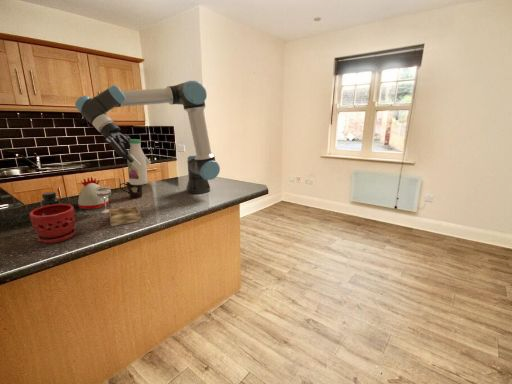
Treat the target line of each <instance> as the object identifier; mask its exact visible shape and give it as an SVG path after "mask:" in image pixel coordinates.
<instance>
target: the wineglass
mask: <svg viewBox="0 0 512 384" xmlns="http://www.w3.org/2000/svg"><path fill="white" fill-rule="evenodd" d="M95 190H96V191H95V194H96V196H98V197H99V198H102V199H104V204H105V206H104V209H103V210H101V211H100V213H101V214H106V213H107V214H109V210H110V209H108V208H107V205H106V200H105V199H106V198H107V197H108V198H109V197H110V196H111V195H112V190H111V186H109V185H108V186H107V185H105V186H100V187H97V188H95Z"/></svg>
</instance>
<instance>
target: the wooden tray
mask: <svg viewBox="0 0 512 384" xmlns="http://www.w3.org/2000/svg"><path fill="white" fill-rule="evenodd" d="M108 214H109V222H110V226H111V227H115V226H119V225H121V226H122V225H126V224H130V223H137V222H142V217H141V215H142V214H141V211H140V210H139V208H138V205H135V206H130V207H129V206H128V207H122V208H115V209H109V212H108Z"/></svg>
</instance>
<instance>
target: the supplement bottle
mask: <svg viewBox="0 0 512 384" xmlns="http://www.w3.org/2000/svg"><path fill="white" fill-rule="evenodd" d="M41 196H42V199H41V200H40V207H43V206H47V205H53V204H61V201H60V199H59V198H58V197H57V194H56V192H55V191H50V192H49V191H48V192H43V193H42V194H41ZM56 212H57V211H56V210H55V211H54V213H56ZM45 215H46V213H43V214H42V216H45ZM49 215H52V214H51V213H50V214H49Z"/></svg>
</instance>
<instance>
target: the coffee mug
mask: <svg viewBox="0 0 512 384" xmlns="http://www.w3.org/2000/svg"><path fill="white" fill-rule="evenodd" d="M125 182H126V183H124V182H123V183H120V184H119V189H120V190H122V192H123V191H124V192H126V193H128V195H129V197H130V198H129V199H134V200H135V199H141V198H142V197H143V184H142V185H131V184H130V182H129V179H127V180H126V181H125ZM122 185H125V186H126V187H127V190H125V189H123V188H122V187H121V186H122Z"/></svg>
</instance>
